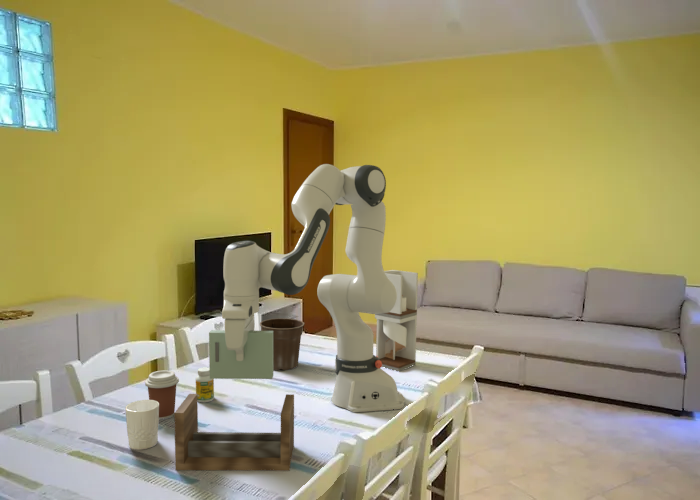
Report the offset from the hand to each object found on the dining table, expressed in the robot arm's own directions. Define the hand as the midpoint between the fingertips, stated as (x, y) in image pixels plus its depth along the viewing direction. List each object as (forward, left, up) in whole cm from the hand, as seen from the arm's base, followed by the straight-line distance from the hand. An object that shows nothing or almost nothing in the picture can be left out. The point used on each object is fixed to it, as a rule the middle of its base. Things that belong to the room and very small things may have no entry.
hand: (241, 357), depth 140 cm
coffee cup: (+25, -13, -21) cm, 35 cm away
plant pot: (-4, -59, -21) cm, 63 cm away
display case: (-46, -61, -21) cm, 80 cm away
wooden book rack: (-1, +12, -21) cm, 24 cm away
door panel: (0, 0, -5) cm, 5 cm away
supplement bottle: (+16, -25, -21) cm, 37 cm away
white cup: (+24, +5, -21) cm, 32 cm away
